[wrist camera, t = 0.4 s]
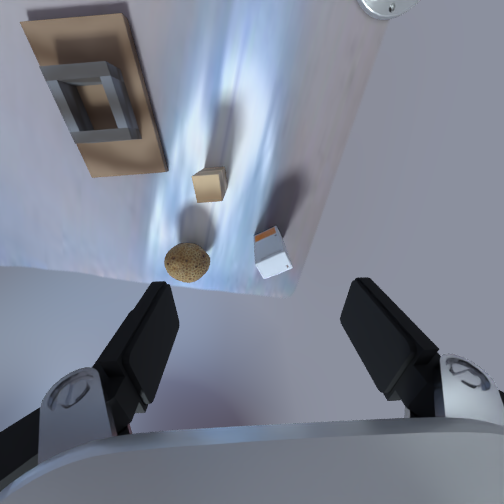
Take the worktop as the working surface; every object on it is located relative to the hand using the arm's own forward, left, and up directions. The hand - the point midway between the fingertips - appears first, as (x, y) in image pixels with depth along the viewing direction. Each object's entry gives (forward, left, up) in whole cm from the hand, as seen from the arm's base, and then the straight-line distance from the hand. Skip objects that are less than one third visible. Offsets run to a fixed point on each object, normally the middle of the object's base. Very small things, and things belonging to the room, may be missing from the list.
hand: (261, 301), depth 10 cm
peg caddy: (-13, -23, -33) cm, 42 cm away
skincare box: (+13, +3, -33) cm, 36 cm away
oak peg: (-1, -7, -33) cm, 34 cm away
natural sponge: (+15, -15, -33) cm, 39 cm away
